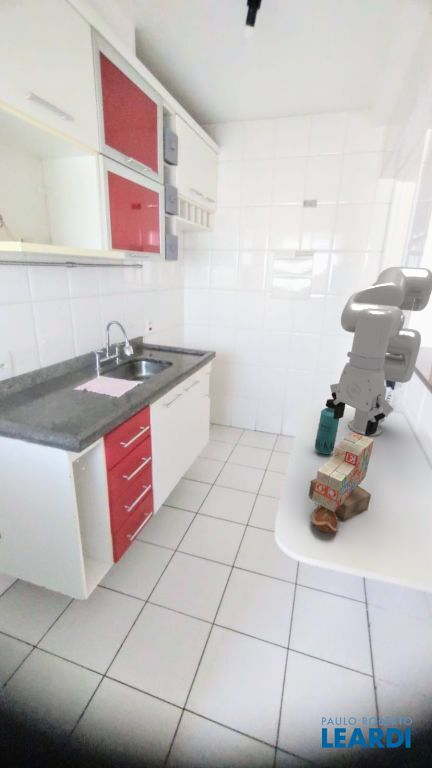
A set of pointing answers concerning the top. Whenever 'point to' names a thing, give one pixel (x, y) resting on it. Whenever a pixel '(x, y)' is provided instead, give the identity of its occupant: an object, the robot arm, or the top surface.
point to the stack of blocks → (342, 471)
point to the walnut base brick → (350, 503)
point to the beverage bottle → (327, 429)
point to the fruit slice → (325, 519)
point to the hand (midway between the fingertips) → (353, 425)
